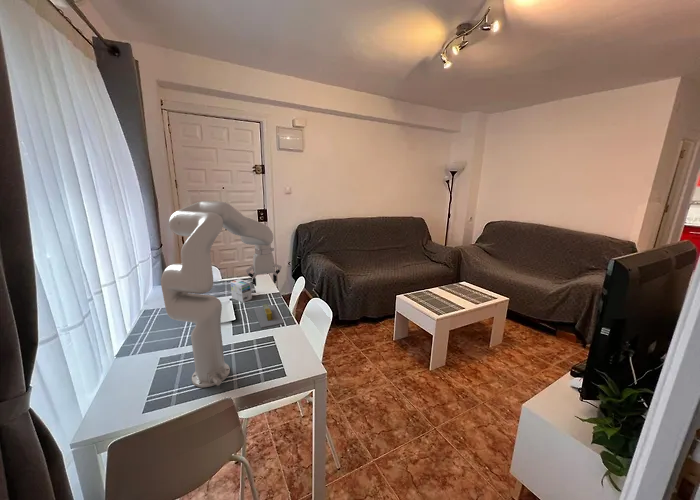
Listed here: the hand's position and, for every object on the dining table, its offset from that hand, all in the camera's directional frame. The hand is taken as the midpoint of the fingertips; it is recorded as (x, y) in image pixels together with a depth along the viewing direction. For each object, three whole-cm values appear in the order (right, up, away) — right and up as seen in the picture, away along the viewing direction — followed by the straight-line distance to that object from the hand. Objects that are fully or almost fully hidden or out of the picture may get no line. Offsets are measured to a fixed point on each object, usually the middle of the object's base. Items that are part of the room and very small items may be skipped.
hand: (265, 283), depth 141 cm
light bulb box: (-22, -12, +26) cm, 36 cm away
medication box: (0, -17, +5) cm, 18 cm away
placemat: (0, -18, +5) cm, 19 cm away
